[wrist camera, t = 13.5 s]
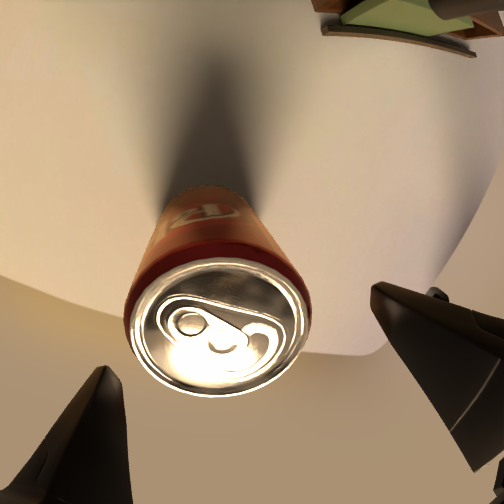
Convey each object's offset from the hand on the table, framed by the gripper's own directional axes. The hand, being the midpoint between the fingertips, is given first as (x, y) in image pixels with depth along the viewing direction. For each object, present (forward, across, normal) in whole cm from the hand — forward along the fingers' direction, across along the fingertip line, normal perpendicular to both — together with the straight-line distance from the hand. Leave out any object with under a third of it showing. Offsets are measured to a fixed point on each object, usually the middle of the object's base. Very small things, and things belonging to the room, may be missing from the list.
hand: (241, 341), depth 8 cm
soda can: (+13, 0, +1) cm, 13 cm away
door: (+13, -18, -13) cm, 26 cm away
